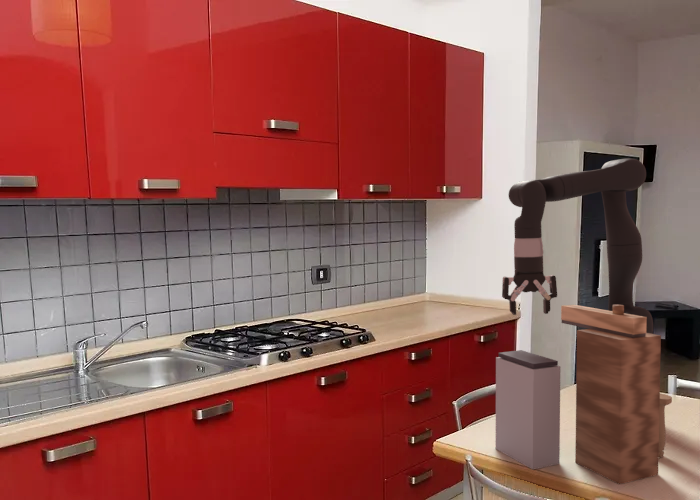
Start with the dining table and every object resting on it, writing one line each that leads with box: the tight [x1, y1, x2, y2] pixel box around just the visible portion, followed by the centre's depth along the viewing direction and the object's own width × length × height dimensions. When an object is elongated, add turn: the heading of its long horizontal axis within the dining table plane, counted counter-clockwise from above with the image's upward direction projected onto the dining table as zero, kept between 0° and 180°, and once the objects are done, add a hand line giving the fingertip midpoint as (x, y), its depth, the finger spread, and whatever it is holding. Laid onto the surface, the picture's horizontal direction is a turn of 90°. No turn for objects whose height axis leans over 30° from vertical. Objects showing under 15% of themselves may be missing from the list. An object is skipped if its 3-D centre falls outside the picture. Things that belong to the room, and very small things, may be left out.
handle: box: [659, 393, 673, 459], centre depth 146 cm, size 5×6×15 cm
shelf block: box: [574, 328, 662, 485], centre depth 139 cm, size 12×13×32 cm
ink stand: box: [495, 350, 561, 470], centre depth 147 cm, size 8×14×25 cm, turn 23°
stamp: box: [560, 304, 647, 338], centre depth 142 cm, size 4×22×6 cm, turn 23°
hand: (529, 313), depth 163 cm, fingers open, 8 cm apart
